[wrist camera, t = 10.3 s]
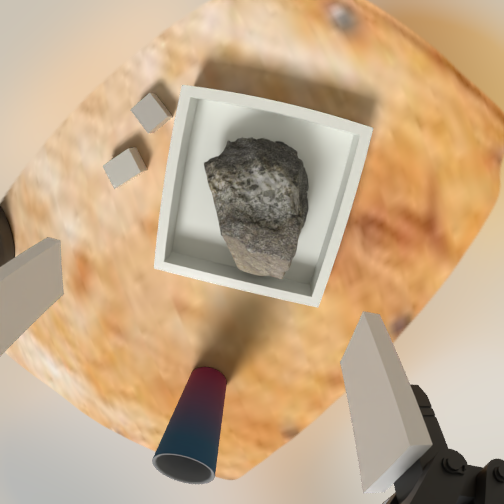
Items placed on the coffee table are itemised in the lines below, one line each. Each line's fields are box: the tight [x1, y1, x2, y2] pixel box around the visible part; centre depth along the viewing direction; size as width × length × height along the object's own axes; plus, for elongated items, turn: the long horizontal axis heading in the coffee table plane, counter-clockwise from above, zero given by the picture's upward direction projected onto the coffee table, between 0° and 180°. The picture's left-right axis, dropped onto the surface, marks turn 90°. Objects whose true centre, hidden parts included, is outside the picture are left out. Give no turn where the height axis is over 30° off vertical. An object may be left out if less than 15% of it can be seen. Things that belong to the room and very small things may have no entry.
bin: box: [154, 85, 373, 307], centre depth 30 cm, size 17×18×4 cm
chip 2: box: [131, 93, 173, 133], centre depth 29 cm, size 3×3×2 cm
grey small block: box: [103, 147, 148, 189], centre depth 31 cm, size 4×3×2 cm
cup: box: [152, 367, 227, 484], centre depth 35 cm, size 7×7×15 cm
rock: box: [204, 137, 309, 279], centre depth 28 cm, size 13×9×6 cm, turn 15°
